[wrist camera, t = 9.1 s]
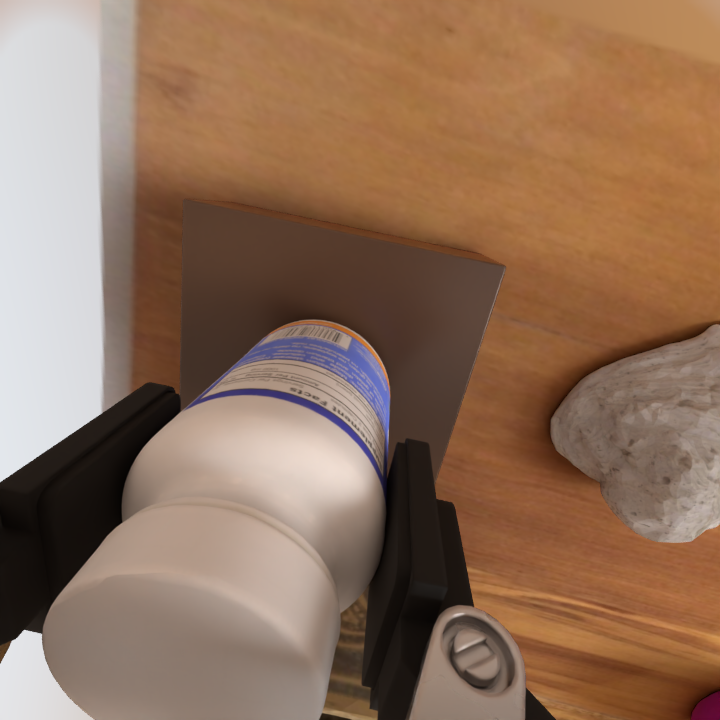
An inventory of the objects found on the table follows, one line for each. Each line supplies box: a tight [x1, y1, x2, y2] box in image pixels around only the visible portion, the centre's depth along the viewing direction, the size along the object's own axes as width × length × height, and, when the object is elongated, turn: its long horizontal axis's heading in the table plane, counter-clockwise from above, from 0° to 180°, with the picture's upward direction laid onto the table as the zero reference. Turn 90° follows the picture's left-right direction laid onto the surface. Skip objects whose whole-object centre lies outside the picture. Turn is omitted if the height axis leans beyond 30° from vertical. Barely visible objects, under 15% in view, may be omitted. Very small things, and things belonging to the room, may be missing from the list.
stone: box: [550, 324, 720, 543], centre depth 17 cm, size 10×5×10 cm
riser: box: [180, 199, 506, 485], centre depth 17 cm, size 11×11×4 cm
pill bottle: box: [42, 320, 390, 720], centre depth 10 cm, size 5×5×10 cm
